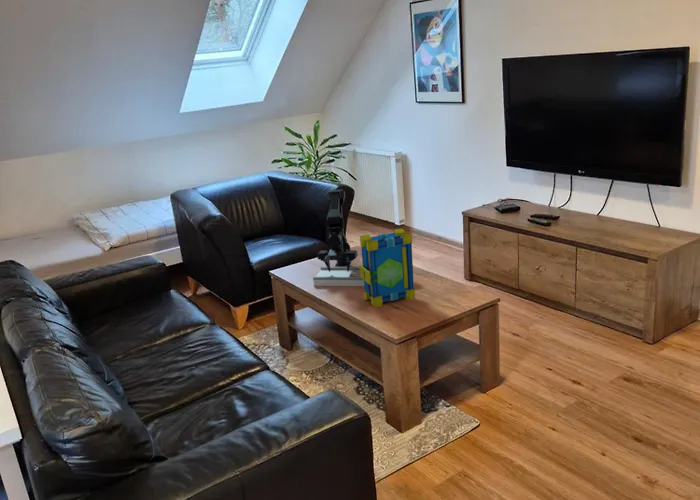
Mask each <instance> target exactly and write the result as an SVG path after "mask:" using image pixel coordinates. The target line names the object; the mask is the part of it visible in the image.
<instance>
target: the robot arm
mask: <svg viewBox="0 0 700 500" xmlns="http://www.w3.org/2000/svg"><path fill="white" fill-rule="evenodd" d="M327 199H328V200H329V203H330V208H329V211H328V213H327V216H326V217H327V218H326V219H325V221H326V222H325V224H326V225H325V227H326V229H325V231H326V233H329V236H328V240H327V244H328V245H329V250H319V252H318V253H317V255H316V256H317V260H320V261H322V262H323V263H325V265H326V266H325V267H327V268H328V270H329V272H330V267H331V262H330V261H336V263H335V265H334V267H347V271H349V268H350V267H351V265H352V261H353V262H354V260H356V259H357V257H358V255H359V254H358V251H357V250H356V249H351V245H350V243H349V242H348V238H347V236H345V233H344V228H345V220H344V217H343V207H342V206H343V205H344V202H345V199H346V192H345V191H344V190H343V189H331V190H330V191H327Z"/></svg>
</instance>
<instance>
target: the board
mask: <svg viewBox="0 0 700 500" xmlns="http://www.w3.org/2000/svg"><path fill="white" fill-rule="evenodd" d="M359 270H360V266H350V268H349V271H347V266H330V272H329V270H328V268H327V266H321V267H320V270H319V271H318V273H317V274H316V276H313V277H312V281H313V286H314V287H315V286H320V287H321V286H322V287H325V286H327V287H364V280H363V279H362V278H361V277H351V273H353V272H355V271H359Z"/></svg>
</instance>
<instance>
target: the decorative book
mask: <svg viewBox="0 0 700 500" xmlns="http://www.w3.org/2000/svg"><path fill="white" fill-rule="evenodd" d="M359 242H360V248H361V257H362V258H361V259H362V260H361V261H362V265H358V267H360V277H361V278H362V279H363V280H364V286H363V287H364V290H363V291H364V292H363V294H364V296H363V297H364V301H368V300H370V303H371V305H372V307H373V308H377V307H381V306H383V305H384V304H383V303H384V302H393V301H397V300H399V299H403V298H404V299H405V300H407V301H408V300H411V298H413V299H416V291H415V289H416V288H414V287H415V286H414V285H415V284H414V268H413V267H414V265H413V247H412V246H413V245H412V244H413V234H412V233H406V231H405V230H404V228H402V227H401V228H396V229H393V232H391V233H380V234H378V235H376V236H371V235H370V234H364V235H360V236H359Z"/></svg>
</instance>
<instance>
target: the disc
mask: <svg viewBox="0 0 700 500" xmlns="http://www.w3.org/2000/svg"><path fill="white" fill-rule="evenodd" d="M351 277H360V270H359V271H355V272H353V273H351Z"/></svg>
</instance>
